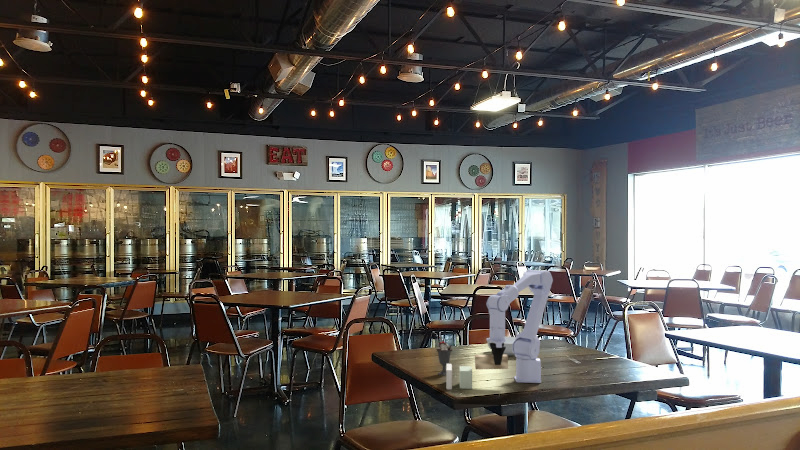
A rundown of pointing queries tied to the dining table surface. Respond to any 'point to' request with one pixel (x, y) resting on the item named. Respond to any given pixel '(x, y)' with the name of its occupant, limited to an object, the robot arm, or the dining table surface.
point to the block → (465, 377)
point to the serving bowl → (506, 345)
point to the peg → (490, 362)
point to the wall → (449, 376)
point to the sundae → (444, 355)
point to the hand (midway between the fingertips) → (497, 363)
